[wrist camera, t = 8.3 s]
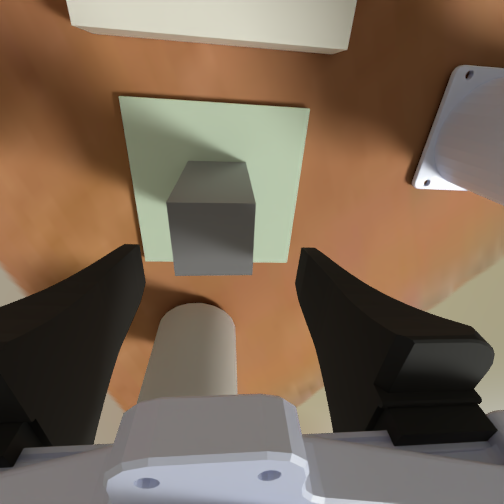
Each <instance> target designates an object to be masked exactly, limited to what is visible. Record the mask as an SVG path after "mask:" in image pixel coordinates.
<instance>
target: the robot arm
mask: <svg viewBox="0 0 504 504" xmlns="http://www.w3.org/2000/svg"><path fill="white" fill-rule="evenodd" d="M468 71H469V76H468V78H467V79H466V78H465V76H466V73H467V72H468ZM426 180H427V182H426V184H424V182H425V181H426ZM412 186H413V187H415V188H417V189H435V190H462V191H471V192H473V193H475V194H478V195H480V196H482V197H485V198H487V199H489V200H492V201H494V202H496V203H499V204H501V205H503V206H504V68H495V67H484V66H472V65H460V66H458V67H456V68H455V69H454V70H453V72H452V74H451V76H450V79H449V82H448V85H447V87H446V90H445V93H444V96H443V98H442V101H441V104H440V106H439V109H438V112H437V115H436V117H435V120H434V123H433V126H432V128H431V131H430V134H429V137H428V139H427V142H426V145H425V148H424V150H423V153H422V156H421V159H420V161H419V164H418V167H417V169H416V172H415V175H414V178H413V180H412ZM145 283H146V281H145V275H144V269H143V263H142V258H141V252H140V246H139V245H138V244H124V245H122V246H120V247H119V248H117V249H115V250H114V251H112V252H111V253H109V254H107V255H106V256H104V257H103V258H101V259H99V260H98V261H96V262H95V263H93V264H91V265H90V266H88V267H86V268H85V269H83V270H81V271H79V272H78V273H76V274H74V275H72V276H71V277H69V278H67V279H65V280H63V281H61V282H59V283H57V284H55V285H53V286H51V287H49V288H47V289H44V290H42V291H40V292H38V293H35V294H33V295H30V296H28V297H25V298H23V299H20V300H18V301H15V302H13V303H10V304H7V305H5V306H2V307H0V504H504V410H497V411H493V412H490V413H488V414H485V413H484V412H483V411H482V409H481V408H480V407H479V405H478V404H480V403H481V402H482V399H481V397H480V396H479V395H478V393H477V392H476V391H475V390H474V388H475V387H476V385H477V384H478V383H479V382H480V380H481V379H482V378H483V377H484V375H485V374H486V373H487V372H488V370H489V369H490V367H491V365H492V364H493V359H494V351H493V348H492V347H491V346H490V345H489V344H488V343H487V342H486V341H485V340H484V339H483V338H482V337H481V336H480V334H479V333H478V332H477V331H475V329H474V328H472V327H471V326H468V325H465V324H462V323H458V322H455V321H452V320H448V319H445V318H442V317H439V316H436V315H433V314H430V313H427V312H425V311H422V310H419V309H417V308H414V307H412V306H409V305H407V304H405V303H402V302H400V301H398V300H396V299H394V298H391V297H389V296H387V295H385V294H383V293H381V292H380V291H378V290H376V289H374V288H372V287H370V286H369V285H367V284H365V283H364V282H362V281H361V280H359V279H358V278H356V277H354V276H353V275H351V274H350V273H349V272H347V271H346V270H344V269H343V268H342V267H340V266H339V265H337V264H336V263H335V262H333V261H332V260H331V259H330V258H328V257H327V256H326V255H324V254H323V253H322V252H320V251H319V250H317V249H316V248H301V254H300V259H299V265H298V270H297V276H296V281H295V285H296V291H297V295H298V300H299V303H300V306H301V309H302V312H303V315H304V318H305V320H306V323H307V326H308V328H309V331H310V334H311V337H312V339H313V342H314V345H315V349H316V352H317V356H318V360H319V364H320V369H321V373H322V377H323V382H324V387H325V391H326V396H327V401H328V406H329V411H330V416H331V422H332V427H333V433H321V434H302V433H301V429H300V424H299V419H298V415H297V410H296V406H294V405H293V404H291V403H289V402H288V401H286V400H285V399H283V398H281V397H280V396H274V395H266V394H239V395H210V396H180V397H160V398H155V399H150V400H145V401H141V402H139V403H138V404H136V405H135V406H133V407H132V408H130V409H129V410H128V411H126V412H125V413H123V416H122V420H121V423H120V426H119V429H118V432H117V435H116V438H115V441H114V444H97V445H96V444H95V445H93V444H94V440H95V435H96V431H97V427H98V423H99V419H100V415H101V411H102V408H103V403H104V400H105V397H106V393H107V390H108V386H109V383H110V379H111V376H112V372H113V369H114V366H115V363H116V360H117V356H118V353H119V351H120V348H121V346H122V343H123V341H124V339H125V336H126V334H127V332H128V330H129V327H130V325H131V323H132V320H133V318H134V316H135V314H136V311H137V309H138V307H139V304H140V302H141V298H142V295H143V291H144V287H145Z"/></svg>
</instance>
